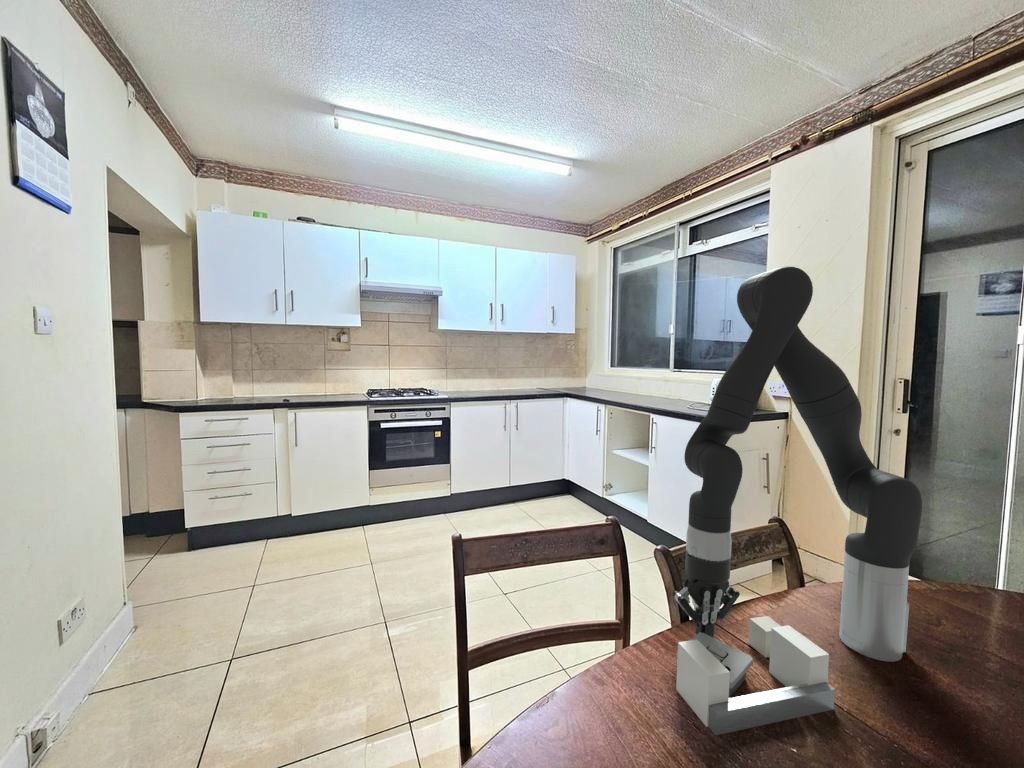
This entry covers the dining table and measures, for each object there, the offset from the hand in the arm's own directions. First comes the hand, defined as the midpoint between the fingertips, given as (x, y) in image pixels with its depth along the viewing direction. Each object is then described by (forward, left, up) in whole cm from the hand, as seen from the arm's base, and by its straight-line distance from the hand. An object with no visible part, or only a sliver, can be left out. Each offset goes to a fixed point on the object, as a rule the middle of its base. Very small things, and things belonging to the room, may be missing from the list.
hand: (704, 639), depth 81 cm
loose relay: (-11, +3, -2) cm, 12 cm away
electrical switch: (+1, +11, -2) cm, 11 cm away
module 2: (-9, +12, -2) cm, 15 cm away
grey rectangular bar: (0, +16, -2) cm, 16 cm away
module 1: (+9, +12, -2) cm, 15 cm away
